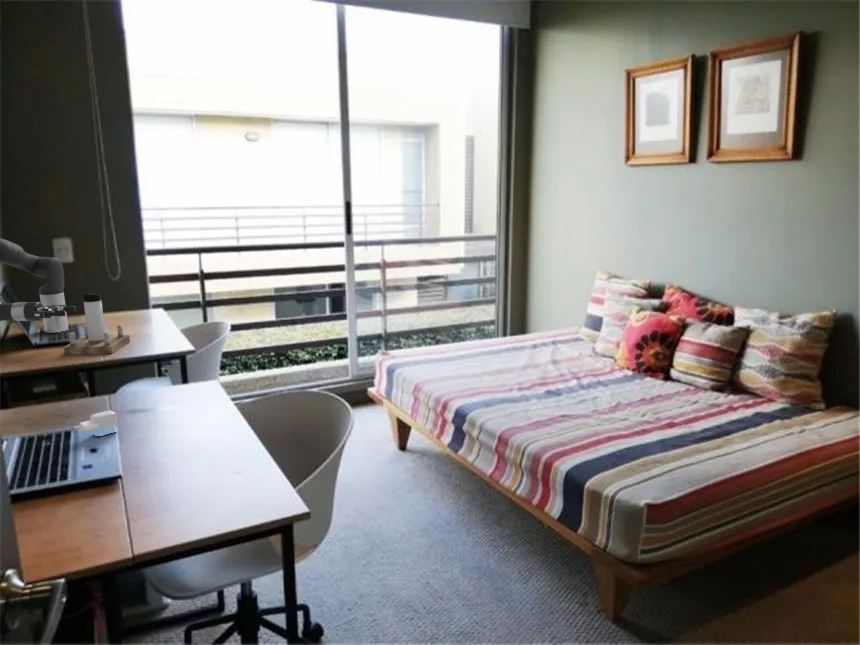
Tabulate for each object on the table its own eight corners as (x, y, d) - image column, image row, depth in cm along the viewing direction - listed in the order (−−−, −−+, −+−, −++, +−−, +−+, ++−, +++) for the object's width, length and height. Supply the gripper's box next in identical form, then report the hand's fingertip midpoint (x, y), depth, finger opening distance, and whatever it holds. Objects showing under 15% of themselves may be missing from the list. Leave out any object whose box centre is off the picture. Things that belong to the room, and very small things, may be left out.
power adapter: (75, 445, 161) (72, 424, 160) (69, 440, 164) (66, 419, 163) (120, 433, 169) (117, 412, 167) (113, 428, 172) (110, 408, 171)
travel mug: (84, 342, 249) (78, 293, 245) (99, 338, 255) (93, 290, 251) (94, 344, 247) (88, 294, 242) (109, 340, 252) (103, 291, 248)
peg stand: (64, 354, 242) (62, 334, 241) (85, 342, 260) (83, 324, 258) (112, 353, 244) (110, 334, 242) (130, 342, 261) (128, 323, 259)
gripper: (16, 305, 239) (60, 305, 240) (35, 298, 252) (77, 298, 254) (19, 324, 240) (62, 324, 242) (38, 316, 254) (79, 316, 256)
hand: (70, 311), depth 248 cm, fingers open, 8 cm apart
